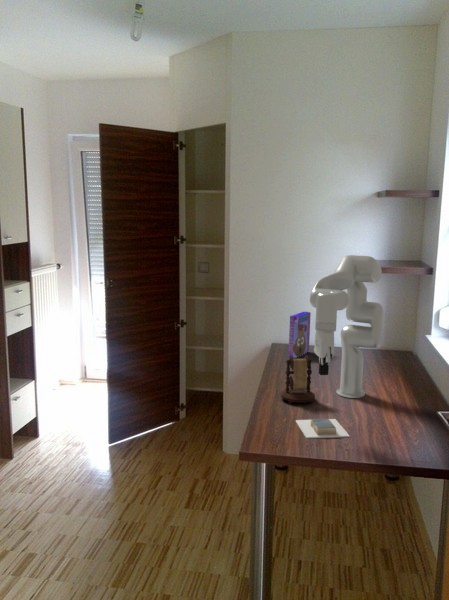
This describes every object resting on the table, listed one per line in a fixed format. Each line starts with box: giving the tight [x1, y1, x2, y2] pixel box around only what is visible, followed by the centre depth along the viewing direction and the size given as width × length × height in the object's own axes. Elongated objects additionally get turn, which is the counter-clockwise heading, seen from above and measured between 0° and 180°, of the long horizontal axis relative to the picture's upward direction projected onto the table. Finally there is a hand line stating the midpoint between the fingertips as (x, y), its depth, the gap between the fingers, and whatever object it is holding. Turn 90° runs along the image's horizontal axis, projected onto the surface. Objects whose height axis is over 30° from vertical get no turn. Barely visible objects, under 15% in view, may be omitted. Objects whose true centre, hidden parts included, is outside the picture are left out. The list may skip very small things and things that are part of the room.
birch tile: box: [310, 418, 336, 435], centre depth 196 cm, size 3×7×9 cm
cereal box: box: [288, 311, 312, 359], centre depth 303 cm, size 17×5×24 cm, turn 147°
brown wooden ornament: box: [280, 354, 316, 405], centre depth 228 cm, size 15×15×20 cm
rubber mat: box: [295, 418, 350, 439], centre depth 198 cm, size 16×16×1 cm
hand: (323, 374), depth 196 cm, fingers closed
